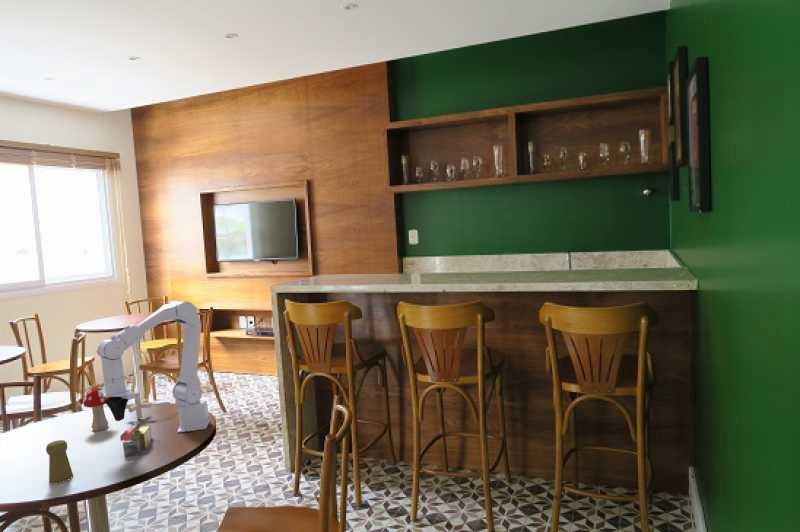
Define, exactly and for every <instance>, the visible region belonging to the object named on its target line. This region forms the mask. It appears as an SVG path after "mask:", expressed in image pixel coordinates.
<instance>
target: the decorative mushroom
mask: <svg viewBox="0 0 800 532" xmlns="http://www.w3.org/2000/svg"><path fill="white" fill-rule="evenodd" d="M103 389H104V388H102V387H101V386H94V387H92V388H90V389H89V390H88V391H87V393H86V395H85V398H84V399H83V406H84V407H86V408H91V411H92V422H91V423H92V424H91V429H92V431H94V432H100V430H101V431H103V430H106V429H107V428H108V427H109V421H108V419H107V416H106V415H105V414H106V413H105V409H104V408H105V407H104V405H107V404H106V403H105V400H108V398H109V397H107V398H105V397H103V396H102V397H99V394H98V391H100V390H103Z"/></svg>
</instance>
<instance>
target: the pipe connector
mask: <svg viewBox="0 0 800 532" xmlns="http://www.w3.org/2000/svg"><path fill="white" fill-rule="evenodd" d="M134 393H135V398H133V399H134V403H127V405H126V408H125V410H128V413H133V412H135V413H136V420H137V419H140V420H142V419H143V412H142V409H150V408H152V407H153V403H152V402H149V401H148V399H147V398H143V399H142V400H141V397H140V391H136V392H135V391H134ZM141 418H142V419H141Z"/></svg>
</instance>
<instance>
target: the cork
mask: <svg viewBox="0 0 800 532" xmlns="http://www.w3.org/2000/svg"><path fill="white" fill-rule="evenodd" d="M67 449H68V443H67V441H66V440H64V439H59V440H54V441H52V442H49V443H48V444H47V445H46V449H45V451H46V454H47V455H48V457H49V458H48V459H49V460H48V462H49V463H48V465H49V466H48V478H49V479H48V483H49V484H50V483H58V484H61V483H60V482H62V483H64V482H63V481H65V482H67V481H66V480H68V479H70V478H71V477H72V478H73V477H74V474H73V471H72V466H71V464H70V461H69V458H68V454H67ZM72 478H71V479H72ZM71 479H70V480H71ZM68 481H69V480H68Z"/></svg>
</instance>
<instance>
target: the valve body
mask: <svg viewBox="0 0 800 532" xmlns="http://www.w3.org/2000/svg"><path fill="white" fill-rule="evenodd" d="M151 428H152V427H151V425H150V424H148V425H141V427H139V428H137V429H136V430H135V431H134V432H133V435H132V436H131V437H130V438H129V439H128V440H123V441H122V448H123V449H122V450H123V455H124V457H130V456H132V457H133V456H137V455H140V454H141V451H143V450H146V449H147V448H148V447H149V446H150V444H151V443H152V437H153V436H152V429H151ZM150 442H151V443H150ZM142 449H143V450H142Z"/></svg>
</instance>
